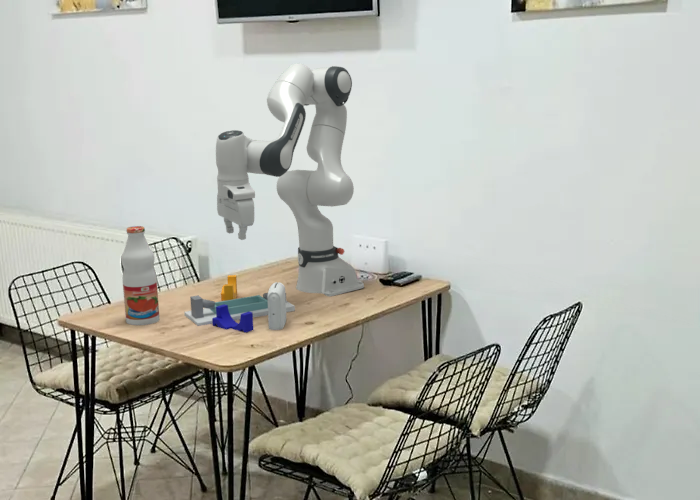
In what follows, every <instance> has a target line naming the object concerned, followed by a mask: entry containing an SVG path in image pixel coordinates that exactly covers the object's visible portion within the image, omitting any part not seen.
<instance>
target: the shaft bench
mask: <svg viewBox="0 0 700 500" xmlns="http://www.w3.org/2000/svg"><path fill="white" fill-rule="evenodd" d="M285 295H286V296H287V292H285ZM267 296H268V292H265V293H263V294H262V296H261V295H260V294H257V295H251V296H245V297H239V298H236V299H232V300H226V301H213V300H209V299H204V298H202V297H201V296H200V295H192V296H190V310H188V311H183V313H184V317H186V318H187V319H188V320H190V321H191V322H192V323H194V324H195V325H196V326H197V327H200V326H205V325H213V321H212V318H215V317H217V316H216V307H217V306H220V305H223V304H225V305H228V310H229V313H230V315H231V317H232V319H233V320H234V321H240V318H241V314H243V313H246V312H252V313H253V318H258V317H259V318H260V317H266V316H268V298H267ZM295 310H296V307H295V305H294V304H292V303H291V302H289V301H288V300H286V313H290V312H295Z"/></svg>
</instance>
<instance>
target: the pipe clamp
mask: <svg viewBox="0 0 700 500" xmlns="http://www.w3.org/2000/svg"><path fill="white" fill-rule="evenodd" d="M237 279H238V278H237V275H236V274H234V275H233V274H231V275H229V274H228V275H227V283H226V284H223V285H222V287H221V293H220V299H221V301H226V300H232V299H237V297H238V283H237V282H238V280H237ZM221 301H220V302H221Z"/></svg>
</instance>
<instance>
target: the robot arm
mask: <svg viewBox="0 0 700 500" xmlns="http://www.w3.org/2000/svg"><path fill="white" fill-rule="evenodd" d="M352 86H353V79H352V77H351V74H350V73H349V71H348V70H347V69H346V68H345V67H342V66H337V65H335V66H333V65H332V66H330V67H320V68H314V69H310V67H308V66H307V65H305V64H304V63H292V64H291V65H289V66H288V67H287V68H286V69H285V70H284V71H283V72H282V73H281V75H280V76H278V78H277V79H276V81H275V83H273V85H272V86H271V89H269V90H270V91H269V92H268V94H267V98H266V103H267V108H268V111H270V113H271V115H272V116H273V117H274V118H275V119H276V120H278V121H280V122H282V123H283V125H282V127H281V130H280V133H279V135H278V137H276V138H275V139H272V140H257V139H252V138H249V137H248V136H246V135H245V134H244V133H245V132H243V131H241V130H235V129H234V130H227V131H224V132H222V133H221V132H220V134H218V136H217V138H216V143H215V160H216V161H215V163H216V167H217V171H218V172H217V177H216V179H217V180H216V181H217V194H216V195H217V197H216V210H217V214H218V216H220V217H221V218H223V222H224V226H225V230H226V233H227V234H233V233H235V231H234V226H233V223H234V224H236V225H238V229H239V231H238V233H237V237H238V239H239V240H241V241H243V240H246V239H247V231H248V227H251V226H253V225H254V223H255V201H254V199H255V198H256V192H255V189H254V188H253V187H252V185H251V184H250V181H249V175H248V173H249V174H255V175H256V174H259V175H265V176H271V177H277V178H278V179H277V181H276V191H277V195H278V197H279V198H280V200H281V201H283V203H285V204H286V205H287V207H288V208H289V209H290V211H291V212H292V214H293V216H294V219H295V220H296V225H297V231H298V232H297V234H298V246H299V247H298V248H297V261H298V276H297V281H296V282H297V283H296V286H295V289H296V290H297V291H299V292H302V293H309V294H323V295H324V296H326V297H334V296H338V295H341V294H346V293H350V292H353V291H358V290H361V289H364V288H365V285H364V282H363V280H360V279H358V277H357V272H356V269H355V268H354V267H353V266H352V265H351V264H350V263H348V262H347V261H345V260H344V259H343V258H341V257H340V256H339V255H344V254H345V249H344V248H342V247H337V246H334V226H333V222H332V221H331V220H330V219H329V218H328V217H326V216H325V215H323V214H322V212H321V211H320V210H319V207H331V208H332V207H338V206H339V207H340V206H345V205H347V204H348V203H349V202H350V201H351V200H352V197H353V195H354V192H355V191H354V184H353V181H352V179H351V177H350V176H349V175H348V174H347V173H346V171H344V168H343V165H342V160H341V157H342V150H343V149H342V148H343V145H344V140H345V134H346V131H347V120H348V109H347V107H346V105H345V104H346V103H347V102H348V100H349V98H350V95H351V91H352ZM310 105H314V107H315V115H314V117H313V121H312V123H311V127H310V132H309V136H308V140H307V145H306V152H307V155H308V157H309V158H310V159H311V160H313V161H314V162H316V163H317V167H316V170H308V169H307V170H306V169H305V170H304V169H295V170H294V169H293V170H289V169H290V168H291V165H292V161H293V157H294V152H295V149H296V146H297V145H298V141H299V138H300V135H301V133H302V130H303V128H304V125H305V122H306V114H307V113H306V109H305V107H304V106H306V107H307V106H310ZM318 206H319V207H318Z"/></svg>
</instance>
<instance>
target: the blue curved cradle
mask: <svg viewBox="0 0 700 500" xmlns="http://www.w3.org/2000/svg"><path fill="white" fill-rule="evenodd" d="M216 316H217V317H215V318H212V321H213V324H212V326H213V327H215V326H217V328H220V329H223V330H234V331H238V332H243V333H249V332H252V330H253V331H254V317H253V313H252V312H246V313H243V314H241V318H240V320H239V322H236V320H233V319H232V317H231V315H230V313H229V310H228V305H225V304H223V305H220V306H217V307H216Z"/></svg>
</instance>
